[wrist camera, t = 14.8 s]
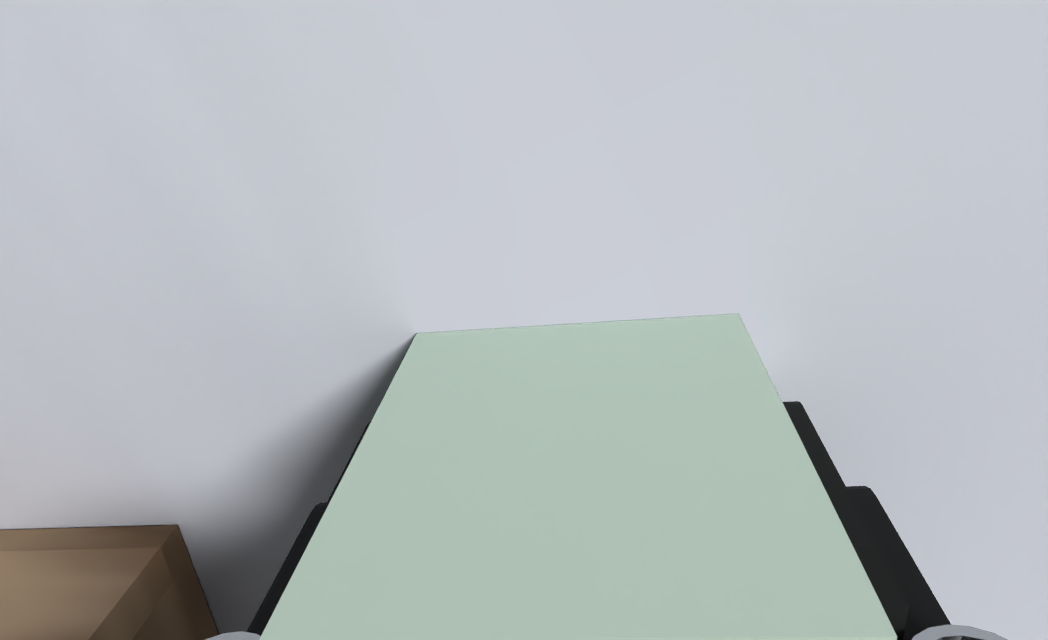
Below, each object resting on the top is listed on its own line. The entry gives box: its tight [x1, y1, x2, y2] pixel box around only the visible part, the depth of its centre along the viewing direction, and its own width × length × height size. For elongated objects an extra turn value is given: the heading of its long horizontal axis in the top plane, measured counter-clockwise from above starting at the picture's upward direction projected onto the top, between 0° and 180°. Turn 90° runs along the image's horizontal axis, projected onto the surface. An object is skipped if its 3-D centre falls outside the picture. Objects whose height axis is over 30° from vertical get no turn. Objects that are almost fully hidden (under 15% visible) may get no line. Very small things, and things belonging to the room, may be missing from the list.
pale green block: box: [259, 314, 897, 640], centre depth 9 cm, size 5×5×6 cm
